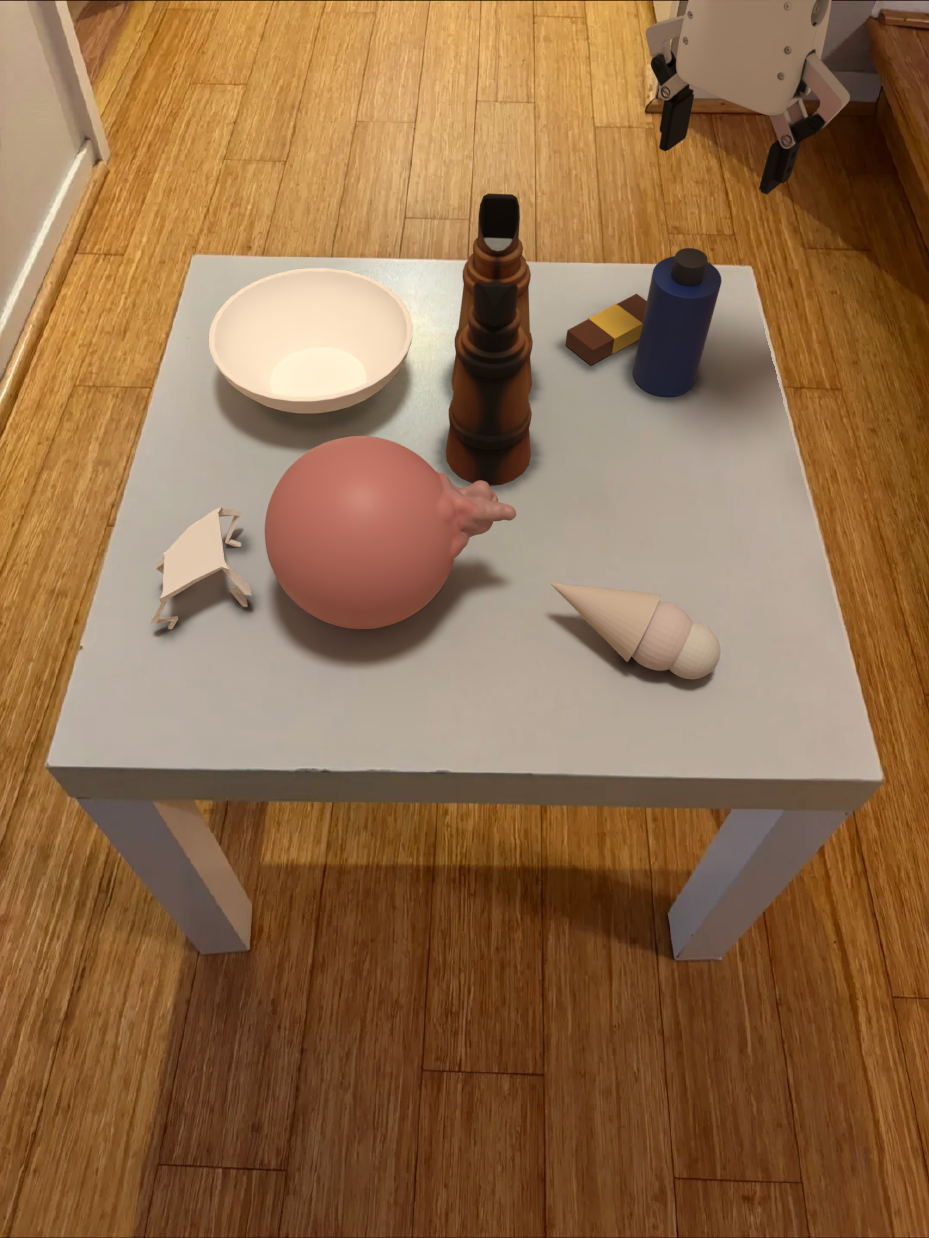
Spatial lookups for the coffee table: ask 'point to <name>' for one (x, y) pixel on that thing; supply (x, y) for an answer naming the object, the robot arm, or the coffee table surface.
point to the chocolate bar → (608, 330)
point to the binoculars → (493, 353)
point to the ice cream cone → (646, 629)
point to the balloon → (370, 530)
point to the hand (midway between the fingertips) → (720, 165)
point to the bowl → (311, 339)
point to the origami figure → (198, 560)
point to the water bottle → (676, 323)
